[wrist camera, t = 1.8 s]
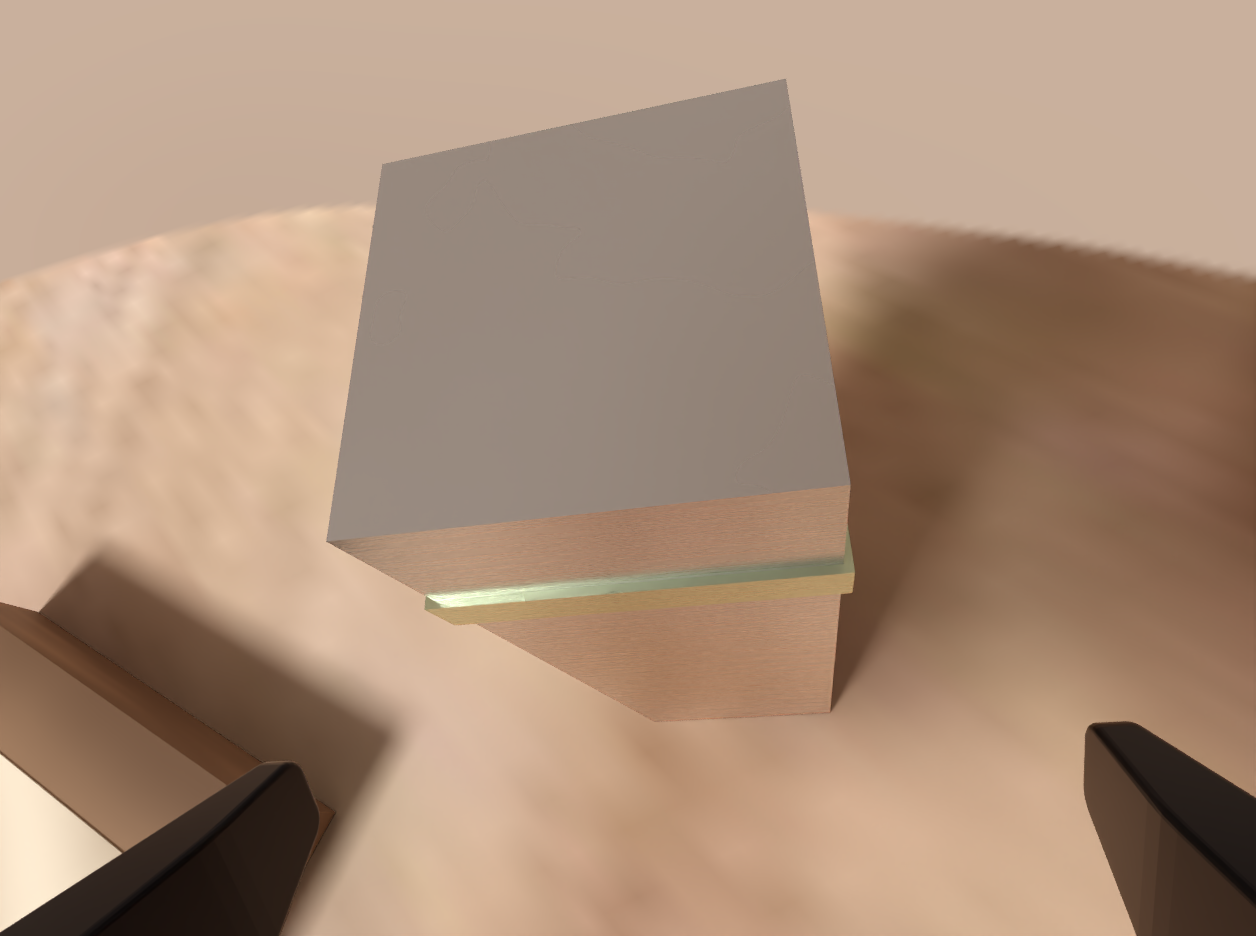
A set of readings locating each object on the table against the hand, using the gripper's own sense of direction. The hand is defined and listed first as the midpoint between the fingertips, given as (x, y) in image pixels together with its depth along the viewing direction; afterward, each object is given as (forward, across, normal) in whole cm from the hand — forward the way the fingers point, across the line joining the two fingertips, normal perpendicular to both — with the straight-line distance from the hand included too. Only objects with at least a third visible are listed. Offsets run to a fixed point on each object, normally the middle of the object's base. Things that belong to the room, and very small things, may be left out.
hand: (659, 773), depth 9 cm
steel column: (+11, 0, +5) cm, 12 cm away
